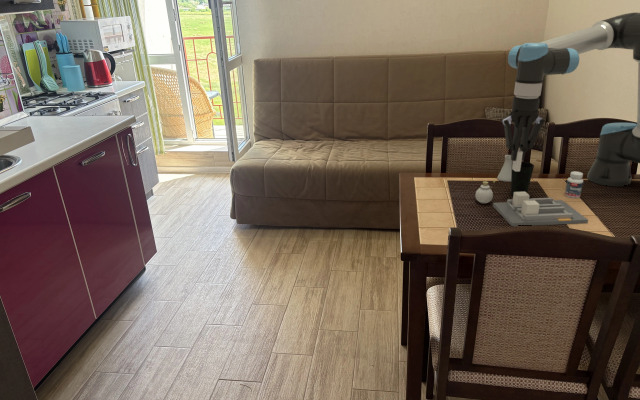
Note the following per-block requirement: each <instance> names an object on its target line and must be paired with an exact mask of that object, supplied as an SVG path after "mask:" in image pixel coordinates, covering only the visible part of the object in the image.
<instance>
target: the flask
mask: <svg viewBox="0 0 640 400" xmlns="http://www.w3.org/2000/svg"><path fill="white" fill-rule="evenodd" d="M512 163H513V160H511V154H505V155H504V163H503V165H502V167H501V170H500V171H499V173H498V176H497V177H496V178H497V180H498V181H501V182H511V172H512Z"/></svg>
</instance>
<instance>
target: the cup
mask: <svg viewBox="0 0 640 400" xmlns="http://www.w3.org/2000/svg"><path fill="white" fill-rule="evenodd" d="M512 165H513V162H512ZM534 168H535V165H534V163H531V162H528V161H521V168H520V171H516V172H515V171H514V170H513V169H512V172H511V183H510V195H511V196H513V195H514V192H526V193H529V192H528V191H529V187H530V184H531V180H532V176H533V172H534Z"/></svg>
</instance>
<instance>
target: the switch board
mask: <svg viewBox="0 0 640 400" xmlns="http://www.w3.org/2000/svg"><path fill="white" fill-rule="evenodd" d="M530 200H535V201H536V202H537V203H538V204H540V205H539V212H538V214H534V215H522V214H521V210H522V205H514V206H513V205H512V202H513V198H511V199H510V198H508V199H507V200H506V202H504V201H503V202H493V203H492V207H493V208H494V209H495V210H496V211H497V212H498V213H499V214H500V215H501V217H503V219H504V220H505V221H506V222H507V223H508V224H509V225H510V226H511V227H519V226H518V225H532V226H549V225H550V226H551V225H553V226H554V225H576V224H588V222H589V219H588V218H587V217H585V216H584V215H583V214H581V213H580V212H579V211H577V210H576V209H575V208H573V207H572V206H570V204H568V203H567V202H565V201H564V200H562V199H554V198H553V197H537V198H535V197H534V198H533V197H532V198H529V201H530Z"/></svg>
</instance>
